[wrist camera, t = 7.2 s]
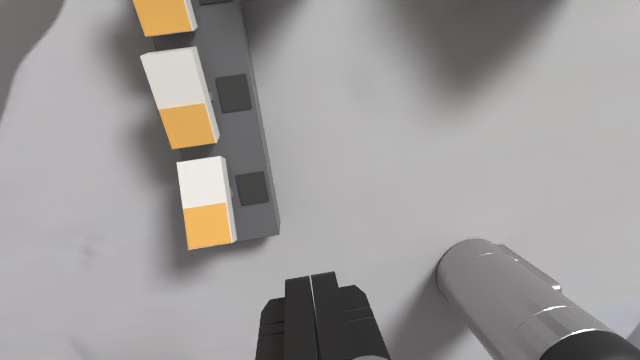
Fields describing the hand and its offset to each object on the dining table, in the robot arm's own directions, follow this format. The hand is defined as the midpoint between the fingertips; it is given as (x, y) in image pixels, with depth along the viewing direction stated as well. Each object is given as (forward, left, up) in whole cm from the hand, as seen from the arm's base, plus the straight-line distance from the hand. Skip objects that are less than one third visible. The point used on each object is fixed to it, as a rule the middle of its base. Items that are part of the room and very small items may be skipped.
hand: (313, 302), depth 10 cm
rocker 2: (+9, -7, -22) cm, 25 cm away
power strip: (+7, -7, -29) cm, 31 cm away
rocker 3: (+9, +2, -22) cm, 24 cm away
